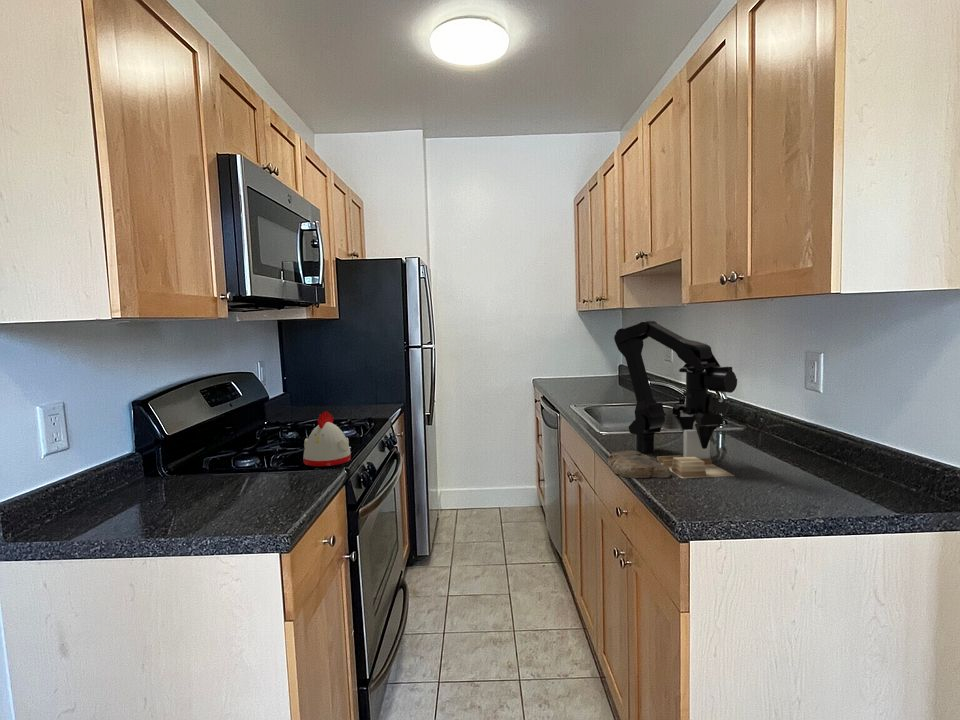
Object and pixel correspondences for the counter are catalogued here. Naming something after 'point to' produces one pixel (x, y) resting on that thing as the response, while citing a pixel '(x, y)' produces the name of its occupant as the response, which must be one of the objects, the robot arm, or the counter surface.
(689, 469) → the oak offcut
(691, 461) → the pine offcut
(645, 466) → the craggy brown boulder
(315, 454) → the kitchen timer
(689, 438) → the panel
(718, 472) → the rack
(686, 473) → the tan wooden square tile
